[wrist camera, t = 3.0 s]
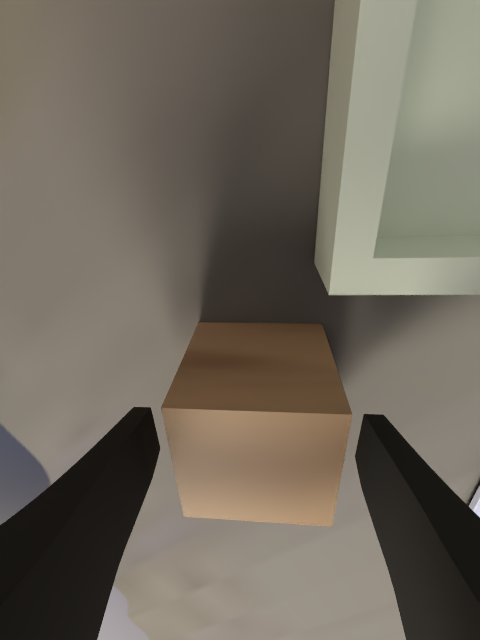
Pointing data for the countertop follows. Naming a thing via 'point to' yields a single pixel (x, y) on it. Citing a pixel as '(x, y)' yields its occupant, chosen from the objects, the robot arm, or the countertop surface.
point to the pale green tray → (401, 150)
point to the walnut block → (258, 424)
